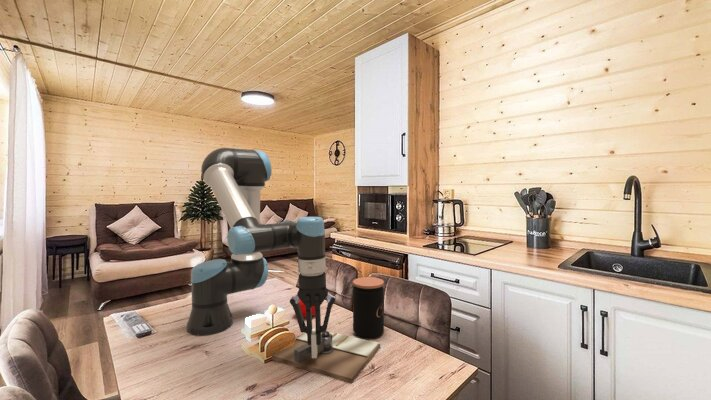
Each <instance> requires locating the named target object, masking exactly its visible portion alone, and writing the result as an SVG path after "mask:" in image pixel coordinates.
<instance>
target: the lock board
mask: <svg viewBox="0 0 711 400" xmlns="http://www.w3.org/2000/svg"><path fill="white" fill-rule="evenodd" d="M312 331H316V327H315V328H314V327H312ZM328 332H329V334H332V349H331V350H328V351H322V352H320V353H318V354H317V358H312V357H310V358H308V359H306V360H305V361H303V362H301V363H297V362H295V361H294V349H297V348H299V347H301V346H303V345H305V344H307V343H308V342H307V334H306V333H304V332H303V333H302V334H301V335H300V336H298V337H296V338H295V339H296V340H295V339H294V340H295V344H294V345H293V346H291V347H289V348H287V349H284V350H282V351H279V350H278V351H279V352H278V351H277V352H275V353H273V354H272V355H271V360H272V361H274V362H275V361H276V362H278V363H281V364H285V365H289V366H291V367H296V368H299V369H303V370H306V371H309V372H312V373H315V374H319V375H321V376H326V377H329V378H333V379H335V380H339V381H342V382H346V383H349V384H352V383H353V382H354V381H355V380H356V378H358V376H359V375H360V373H362V371H363V370H364V368H365V367H366V366H367V365H368V363H369V362H370V361H371V360H372V359H373V357H374V356H375V355H376V353H378V351H379V350H380V349H381V344H380V343H379V342H377V341H373V340H369V339H364V338H360V337H355V336H351V335H345V334H341V333H336V332H333V331H328ZM321 334H322V333H321Z"/></svg>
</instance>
